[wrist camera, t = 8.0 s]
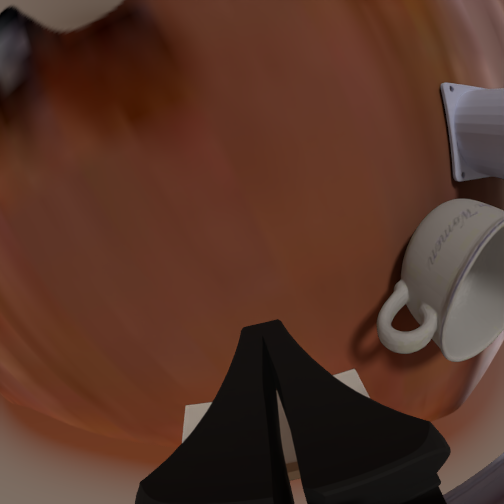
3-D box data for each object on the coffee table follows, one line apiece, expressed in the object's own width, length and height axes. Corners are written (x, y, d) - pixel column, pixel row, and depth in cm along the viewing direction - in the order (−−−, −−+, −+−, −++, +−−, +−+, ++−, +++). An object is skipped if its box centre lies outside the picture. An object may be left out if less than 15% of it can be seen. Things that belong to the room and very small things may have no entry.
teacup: (478, 187, 18) (546, 209, 11) (465, 295, 22) (515, 337, 15) (343, 201, 18) (412, 237, 11) (345, 333, 22) (385, 404, 14)
